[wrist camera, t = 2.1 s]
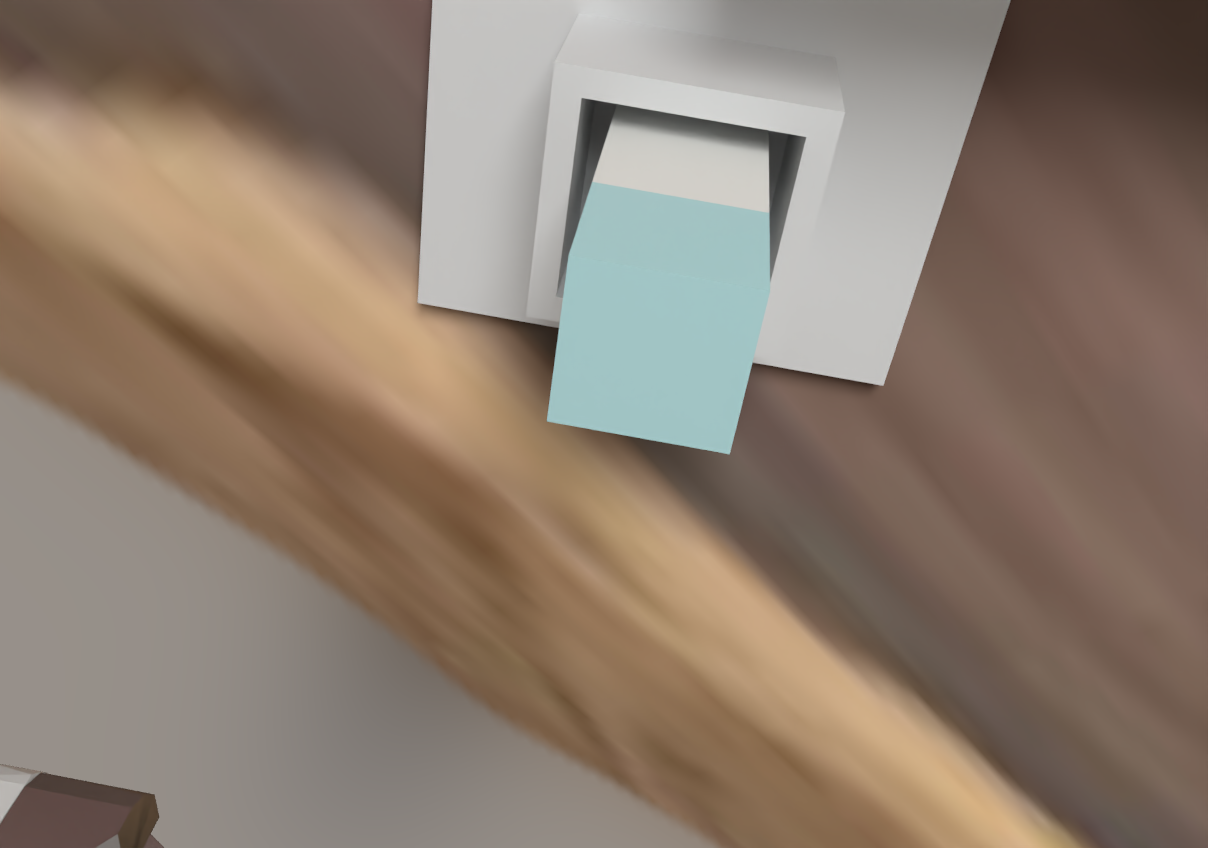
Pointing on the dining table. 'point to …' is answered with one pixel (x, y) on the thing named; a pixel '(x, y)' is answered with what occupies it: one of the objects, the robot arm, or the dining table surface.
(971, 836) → the dining table surface
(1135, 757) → the dining table surface
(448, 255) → the holster
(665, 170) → the plug
